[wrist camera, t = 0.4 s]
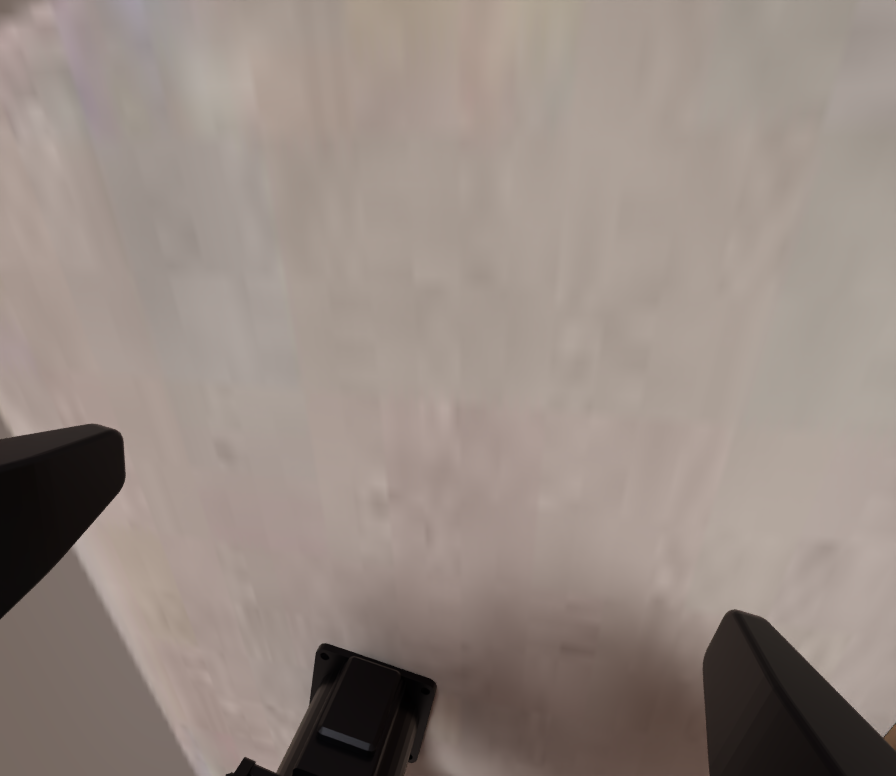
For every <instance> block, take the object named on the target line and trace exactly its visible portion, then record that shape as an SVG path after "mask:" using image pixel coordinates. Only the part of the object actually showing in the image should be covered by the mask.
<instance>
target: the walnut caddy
mask: <svg viewBox="0 0 896 776" xmlns="http://www.w3.org/2000/svg"><path fill="white" fill-rule="evenodd" d="M884 739H885V740H886V741H887V742H888V744H889V745H890V746H891V747H892V748H893V749H894V750H895V751H896V724H895V725H894V726H893V728H892V729H891V730H890V731H889V732H888V734H887V735H886V736H885V737H884Z"/></svg>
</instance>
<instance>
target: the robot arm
mask: <svg viewBox="0 0 896 776" xmlns="http://www.w3.org/2000/svg"><path fill="white" fill-rule="evenodd" d="M125 477H126V472H125V457H124V441H123V437H122V435H121V433H120V432H119V431H117V430H116V429H112V428H109V427H105V426H102V425H98V424H86V425H80V426H74V427H69V428H63V429H57V430H51V431H45V432H40V433H34V434H28V435H22V436H16V437H11V438H5V439H0V619H1V618H2V617H3V616H4V615H5V614H6V613H7V612H9V611H10V610H11V609H12V608H13V607H14V606H15V605H16V604H17V603H18V602H19V601H20V600H21V599H22V598H23V597H24V596H25V595H26V594H27V593H28V592H29V591H30V590H31V589H32V588H34V587H35V586H36V584H38V583H39V582H40V581H41V579H43V578H44V576H46V575H47V574H48V573H49V572H50V570H51V569H52V568H53V567H54V566H55V565H56V564H57V563H58V562H59V561H60V560H61V558H62V557H63V556H64V555H65V554H66V553H67V552H68V550H69V549H70V548H71V547H72V546H73V545H74V544H75V542H76V541H77V540H78V539H79V538H80V537H81V536H82V534H83V533H84V532H85V531H86V530H87V529H88V528H89V526H90V525H91V524H92V523H93V522H94V521H95V520H96V518H97V517H98V516H99V515H100V514H101V513H102V512H103V510H104V509H105V508H106V507H107V506H108V505H109V503H110V502H111V501H112V500H113V499H114V498H115V497H116V495H117V494H118V493H119V492H120V490H121V489H122V487H123V484H124V482H125ZM703 683H704V699H705V714H706V730H707V745H708V761H709V774H710V776H896V751H895V750H894V749H893V748H892V747H891V746H890V745H889V744H888V742H887V741H886V740H885V739H884V738H883V737H882V736H881V735H880V734H879V733H878V732H877V731H876V730H875V729H874V728H873V727H872V726H871V725H870V724H869V723H868V722H867V721H866V720H865V719H864V718H863V717H862V716H861V715H860V714H859V713H858V712H857V711H856V710H855V709H854V708H853V707H852V706H851V705H850V704H849V703H848V702H847V701H846V700H845V699H844V698H843V697H842V696H841V695H840V694H839V693H838V692H837V691H836V690H835V689H834V688H833V687H832V686H831V685H830V684H829V683H828V682H827V681H826V680H825V679H824V678H823V677H822V676H821V675H820V674H819V673H818V672H817V671H816V670H815V669H814V668H813V667H812V666H811V665H810V664H809V663H808V662H807V661H806V660H805V659H804V657H803V656H802V655H801V654H800V653H799V652H798V651H797V650H796V649H795V648H794V647H793V646H792V645H791V644H790V643H789V642H788V641H787V640H786V639H785V638H784V637H783V636H782V635H781V634H780V633H779V632H778V631H777V630H776V629H775V628H774V627H773V626H772V625H771V624H770V623H769V622H768V621H767V620H766V619H764V618H762V617H760V616H757V615H753V614H750V613H746V612H743V611H740V610H735V609H734V610H730V611H728V612H727V613H726V614H725V616H724V617H723V619H722V621H721V623H720V625H719V627H718V629H717V631H716V633H715V635H714V637H713V638H712V640H711V642H710V644H709V646H708V648H707V650H706V653H705V656H704V660H703ZM436 688H437V686H436V683H435V682H434V681H433V680H431V679H429V678H427V677H424V676H421V675H418V674H415V673H412V672H409V671H406V670H403V669H400V668H397V667H395V666H392V665H389V664H386V663H383V662H380V661H377V660H374V659H371V658H368V657H365V656H362V655H359V654H356V653H354V652H351V651H348V650H345V649H342V648H339V647H336V646H333V645H330V644H326V643H324V644H321V645H320V646H319V648H318V650H317V652H316V656H315V664H314V672H313V680H312V688H311V696H310V703H309V708H308V710H307V712H306V714H305V716H304V718H303V720H302V722H301V724H300V726H299V728H298V730H297V732H296V734H295V736H294V738H293V740H292V742H291V744H290V746H289V748H288V750H287V752H286V754H285V756H284V758H283V760H282V762H281V764H280V766H279V768H278V770H277V772H276V773H275V772H272V771H270V770H268V769H266V768H263V767H261V766H259V765H256V764H255V763H256V761H253V760H251V759H249V758H247V757H244V759H243V760H242V762H241V763H240V765H239V766H238V768H237V769H236V771H235V772H234V773H232V772H231V773H230V774H226V776H404V774H405V770H406V767H407V763H408V762H409V763H414V762H416V760H417V758H418V754H419V750H420V747H421V743H422V739H423V736H424V732H425V728H426V725H427V721H428V717H429V714H430V710H431V706H432V703H433V699H434V695H435V692H436Z"/></svg>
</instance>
